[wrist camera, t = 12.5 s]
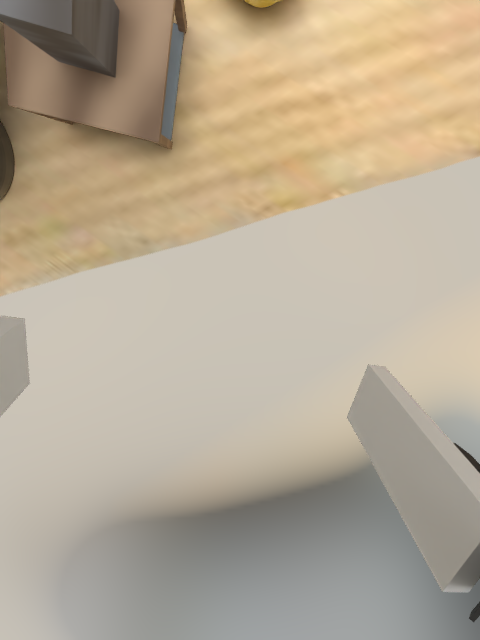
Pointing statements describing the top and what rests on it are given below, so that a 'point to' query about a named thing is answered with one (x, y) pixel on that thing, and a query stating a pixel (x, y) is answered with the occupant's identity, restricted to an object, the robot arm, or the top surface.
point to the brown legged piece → (92, 61)
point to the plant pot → (261, 2)
